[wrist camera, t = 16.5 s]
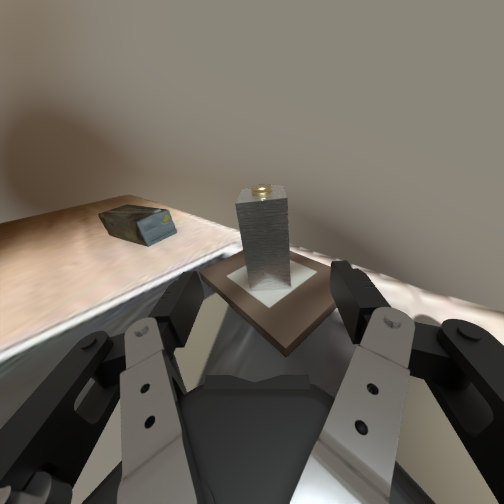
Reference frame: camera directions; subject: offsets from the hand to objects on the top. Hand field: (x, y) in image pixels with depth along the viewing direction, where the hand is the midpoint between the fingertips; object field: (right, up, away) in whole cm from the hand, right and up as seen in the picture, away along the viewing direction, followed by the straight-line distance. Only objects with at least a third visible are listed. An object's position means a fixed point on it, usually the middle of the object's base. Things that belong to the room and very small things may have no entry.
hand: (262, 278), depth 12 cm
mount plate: (+2, -2, +13) cm, 13 cm away
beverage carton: (-28, +6, +36) cm, 46 cm away
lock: (+2, -1, +12) cm, 12 cm away
